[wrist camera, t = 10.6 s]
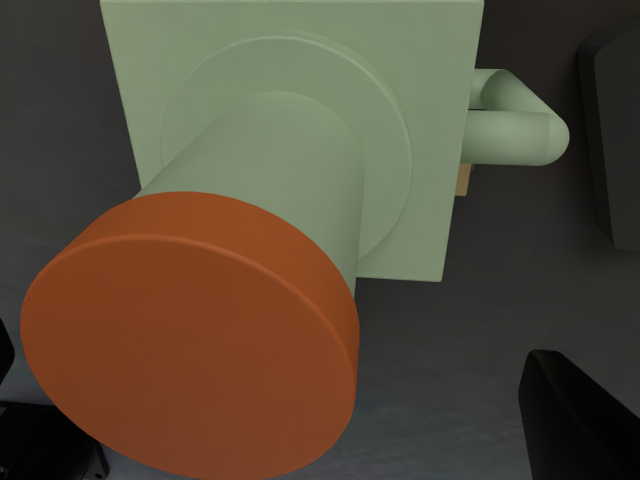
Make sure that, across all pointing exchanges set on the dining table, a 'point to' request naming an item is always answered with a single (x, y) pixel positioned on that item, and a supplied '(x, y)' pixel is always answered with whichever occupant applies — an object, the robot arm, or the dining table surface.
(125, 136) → the dining table surface
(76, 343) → the jug
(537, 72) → the dining table surface
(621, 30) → the smart home device
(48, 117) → the dining table surface
